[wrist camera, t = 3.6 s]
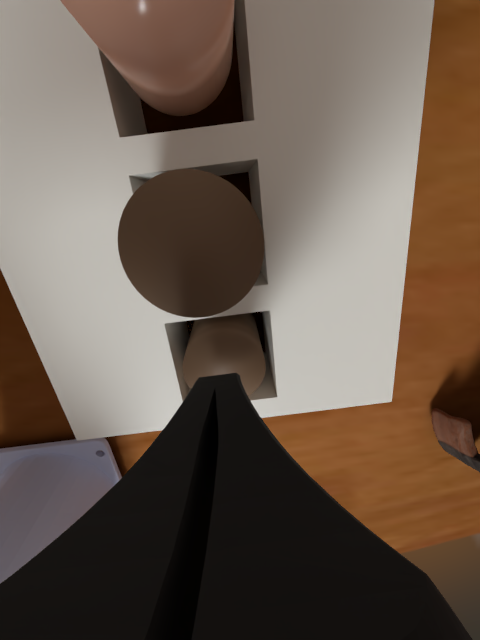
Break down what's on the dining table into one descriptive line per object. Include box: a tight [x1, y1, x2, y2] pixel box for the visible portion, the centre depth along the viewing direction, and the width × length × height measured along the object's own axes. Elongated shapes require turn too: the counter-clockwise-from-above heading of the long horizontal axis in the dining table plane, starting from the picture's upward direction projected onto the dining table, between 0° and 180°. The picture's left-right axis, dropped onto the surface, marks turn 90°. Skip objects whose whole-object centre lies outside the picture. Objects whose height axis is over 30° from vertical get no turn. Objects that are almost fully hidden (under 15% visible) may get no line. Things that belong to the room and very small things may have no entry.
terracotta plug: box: [60, 0, 234, 116], centre depth 6 cm, size 3×3×4 cm
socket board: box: [0, 0, 434, 441], centre depth 11 cm, size 16×14×4 cm
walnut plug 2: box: [183, 313, 266, 396], centre depth 13 cm, size 3×3×4 cm
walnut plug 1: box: [118, 169, 264, 318], centre depth 8 cm, size 3×3×4 cm
